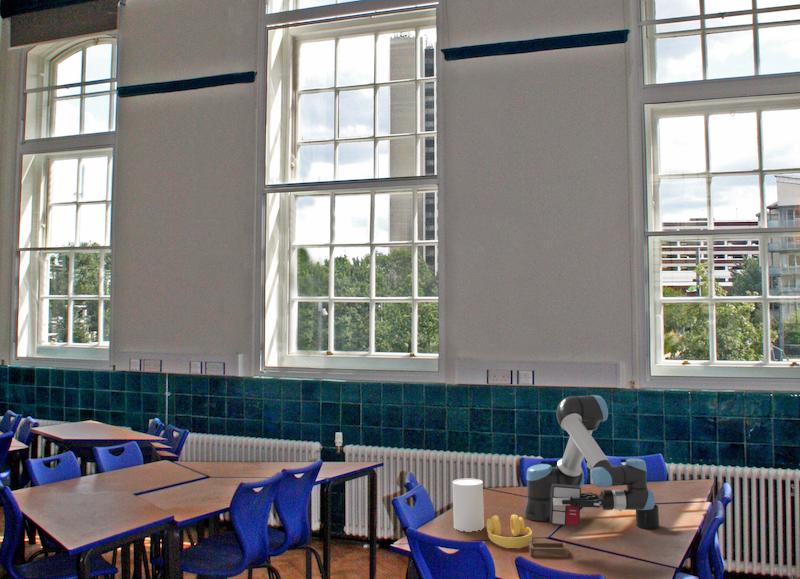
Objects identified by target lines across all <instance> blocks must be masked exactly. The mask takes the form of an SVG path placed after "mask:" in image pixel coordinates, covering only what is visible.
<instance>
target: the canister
mask: <svg viewBox="0 0 800 579" xmlns="http://www.w3.org/2000/svg"><path fill="white" fill-rule="evenodd" d="M452 505H453V506H452V509H453V529H454V528H455V529H454V530H456V529H457V530H456V531H458V530H459V531H458V532H463V531H465V533H471V532H472V531H476V532H479V531H478V530H480V531H482V529H483V528H484V529H485V516H484V515H485V514H484V510H485V509H484V483H483V480H481V479H479V478H471V477H469V478H468V477H465V478H457V479H454V480H452ZM484 529H483V530H484ZM472 533H473V532H472Z"/></svg>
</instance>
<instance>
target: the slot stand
mask: <svg viewBox="0 0 800 579" xmlns="http://www.w3.org/2000/svg"><path fill="white" fill-rule="evenodd" d="M527 546H528V552H529V554H530V557H531V558H532V557H534V558H535V557H536V558H537V557H538V558H541V557H542V558H544V557H545V558H547V557H549V558H551V557H554V558H558V557H559V558H560V557H563V558H565V557H566V558H567V557H568V558H569V557H570V556H569V555H570V554H569V552H570V551H569V547H568V545H567V543H566V542H564V541H561V542H560V541H559V542H558V541H556V542H554V541H553V542H551V541H549V542H548V541H547V542H546V541H544V542H543V541H540V542H539V541H538V542H537V541H536V542H534V541H533V542H532V541H531V542H528V545H527Z"/></svg>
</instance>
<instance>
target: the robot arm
mask: <svg viewBox="0 0 800 579" xmlns="http://www.w3.org/2000/svg"><path fill="white" fill-rule="evenodd" d="M608 417H609V408H608V405H607V403H606V400H605V399H604V398H603V397H602V396H601V395H595V394H590V395H575V396H574V395H573V396H567V397H564V398H563V399H562V400H561V401H560V402H559V404H557V409H556V420H557V422H558V424H559V426H560V427H561V429H562V430H563V431H566V432H567V434H568V435H569V438H568V441H567V444H566V447H565V449H564V453H563V456H562V458H560V459H558V460H557V464H556V466H552V465H551V464H548V463H543V464H540V463H538V464H534V465H532V466H530V467H528V468H527V470H526V491H527V493H526V494H527V501H526V504H525V507H524V510H523V511H524V512H523V514H524V518H526V519H527V520H530V521H531V520H532V521H536V522H550V511H551V486H552V484H564V485H577V486H579V487H580V488H581V489H582V488H583V486H584V484H585V473H584V470H583V468H582V462H583V459H585V461H586V462H587V464H588V466H589V467H590V469H591V472H590V476H591V477H590V478H591V479H592V483H593V485H594V486H595V487H597V488H612V487H618V486H619V487H620V486H626V488H627V489H612V490H611V489H602V490H601V491H600V494H597V493H593V492H581V498H574V499H573V497H570V498H553V505H570V504H571V506H573V507H580V508H596V509H597V508H599V509H600V507H601V508H602V509H603V511H610V510H611V511H613V510H614V511H615V510H617V511H619V512H622V511H623V510H624V511H627V510H630V511H636V510H649V509H653V508H654V505H655V503H656V502H655V495H654V492H653V490H651V489H649V488H648V484H647V483H648V482H647V479H648V477H647V474H648V470H647V464H646V461H645V460H644V459H642V458H636V457H635V458H634V457H631V458H627V459H626V460H625V464H621V465H613V464H612V463H611V461H610V460H609V459H608V457H607V456H606V454H605V453H604V451H602V449H601V447H600V446H599V444H598V443H597V442H596V440H595V439H594V437H593V436H592V434H593V431H596V430H598V427H599V425H600V423H604V422H605V421H607V420H608Z"/></svg>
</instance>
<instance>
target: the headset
mask: <svg viewBox="0 0 800 579" xmlns="http://www.w3.org/2000/svg"><path fill="white" fill-rule="evenodd" d="M509 519H510V521H509V522H510V523H509V524H510V525H509V526H510V532H511V534H512V536H513V537H512V536H508V537H507V536H502V535H501V534H502V531H501V530H502V528H501V527H502V526H501V521H500V517H499V515H496V514H495V515H492V516H491V518H487V519H486V523H485V524H486V531H487V537H488V539H489V540H490V541H491V542H492V543H494V544H495V545H497V546H499V547H503V548H506V549H509V548H517V549H523V548H525V547H527V546H528V542H532V541H533V531H532V529H531V528H530V527H529V526H526V524H525V520H524V517H522V516H518V515H517V514H511V515H510V518H509ZM525 526H526V527H525ZM524 532H525V533H527V534H525V535H522V536H520V534H524Z"/></svg>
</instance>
